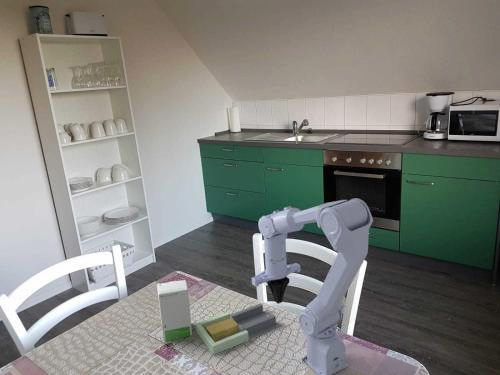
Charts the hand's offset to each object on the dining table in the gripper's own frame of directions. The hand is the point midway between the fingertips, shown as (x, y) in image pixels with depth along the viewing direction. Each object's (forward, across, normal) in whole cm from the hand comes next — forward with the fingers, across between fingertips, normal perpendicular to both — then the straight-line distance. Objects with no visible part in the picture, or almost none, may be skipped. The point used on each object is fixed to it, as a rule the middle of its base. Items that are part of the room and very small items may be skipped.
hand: (278, 301), depth 111 cm
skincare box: (+10, +25, -15) cm, 31 cm away
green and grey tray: (+9, +10, -6) cm, 15 cm away
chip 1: (+8, +17, -6) cm, 20 cm away
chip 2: (+8, +13, -6) cm, 16 cm away
